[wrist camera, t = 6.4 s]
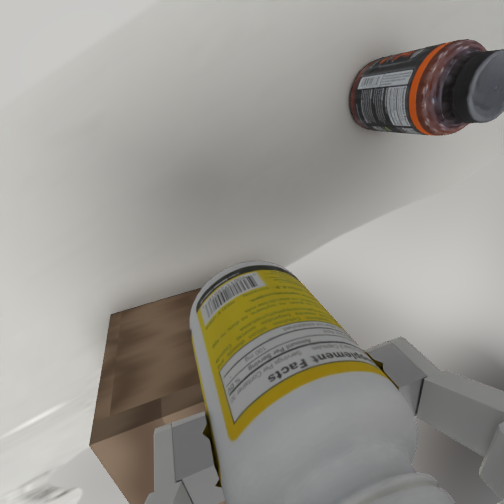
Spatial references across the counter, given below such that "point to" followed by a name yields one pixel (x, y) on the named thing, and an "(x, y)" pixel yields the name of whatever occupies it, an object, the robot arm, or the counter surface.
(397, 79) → the supplement bottle
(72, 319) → the counter surface
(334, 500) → the supplement bottle
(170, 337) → the box
